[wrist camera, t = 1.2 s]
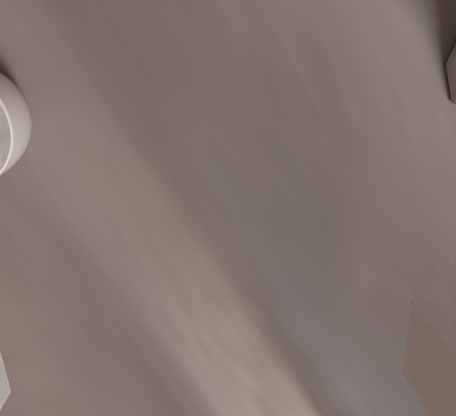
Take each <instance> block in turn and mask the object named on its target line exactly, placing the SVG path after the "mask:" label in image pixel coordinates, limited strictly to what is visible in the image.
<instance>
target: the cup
mask: <svg viewBox="0 0 456 416" xmlns="http://www.w3.org/2000/svg"><path fill="white" fill-rule="evenodd" d="M31 134H32V115H31V110H30V107H29V105H28V102H27V100H26V98H25V97H24V95H23V93H22V92H21V91H20V89H19V88H18V87H17V86H16V85H15V84H14V83H13V82H12V81H11V80H10V79H9V78H7V77H6V76H5V75H3V74H2V73H0V176H1V175H3V174H4V173H6V172H7V171H8V170H9V169H10V168H12V167H13V166H14V165H15V164H16V163H17V162H18V161H19V159H20V158H21V157H22V155H23V154H24V152H25V151H26V149H27V147H28V144H29V142H30V138H31Z"/></svg>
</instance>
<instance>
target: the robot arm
mask: <svg viewBox="0 0 456 416" xmlns="http://www.w3.org/2000/svg"><path fill="white" fill-rule="evenodd" d="M403 372H404V374H405V376H406V377H407V379H408V381H409V382H410V384H411V386H412V388H413V389H414V391H415V393H416V394H417V396H418V398H419V399H420V401H421V403H422V405H423V406H424V408H425V410H426V411H427V413H428V415H429V416H456V321H455V320H454V319H453V318H452V317H451V316H450V315H449V314H448V312H447V311H446V310H445V309H444V308H443V307H442V306H441V305H440V303H439V302H438V301H437V300H436V299H433V300H413V301H412V304H411V311H410V319H409V326H408V334H407V341H406V349H405V356H404V364H403ZM10 392H11V390H10V386H9V382H8V379H7V375H6V371H5V367H4V364H3V360H2V356H1V352H0V410H1V408H2V406H3V404H4V403H5V401H6V399H7V398H8V396H9V394H10Z"/></svg>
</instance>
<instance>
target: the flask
mask: <svg viewBox="0 0 456 416" xmlns="http://www.w3.org/2000/svg"><path fill="white" fill-rule="evenodd" d="M446 69H447V76H448V82H449V88H450V94H451V101H452V103H455V104H456V43H455V45H454V48H453V50H452V52H451V54H450V56H449V58H448V61H447V63H446Z"/></svg>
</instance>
